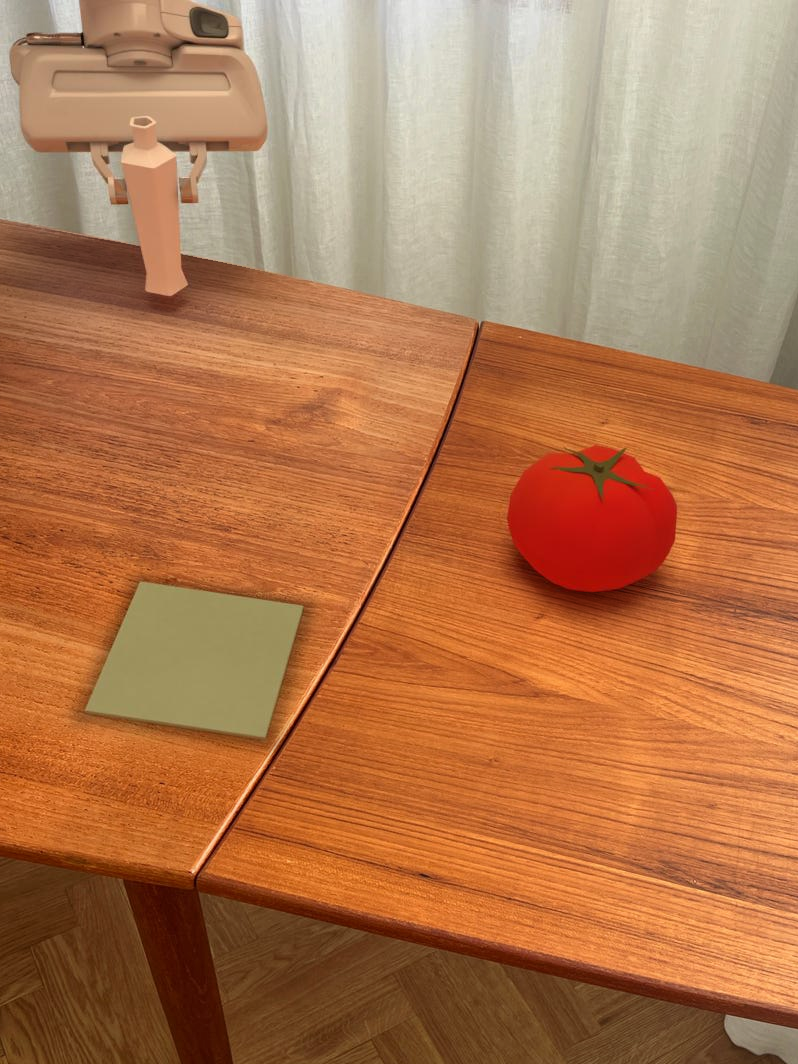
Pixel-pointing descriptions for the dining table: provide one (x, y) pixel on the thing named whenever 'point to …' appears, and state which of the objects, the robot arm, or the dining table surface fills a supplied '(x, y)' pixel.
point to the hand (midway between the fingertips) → (155, 202)
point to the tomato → (592, 519)
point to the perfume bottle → (154, 206)
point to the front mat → (198, 661)
